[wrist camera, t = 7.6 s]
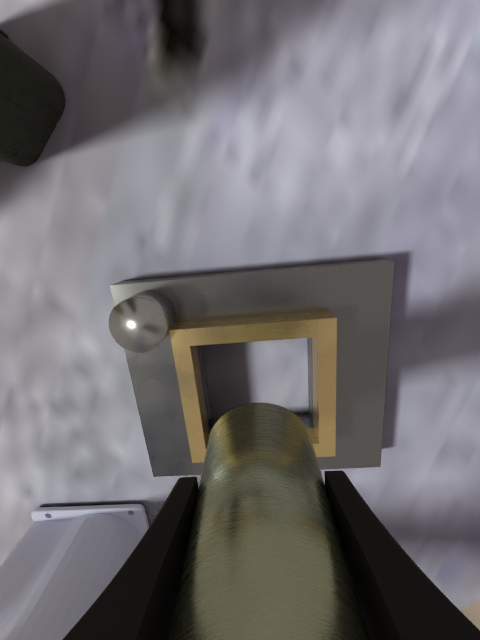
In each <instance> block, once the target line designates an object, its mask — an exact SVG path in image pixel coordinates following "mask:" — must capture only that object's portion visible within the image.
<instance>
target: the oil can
mask: <svg viewBox="0 0 480 640" xmlns="http://www.w3.org/2000/svg"><path fill="white" fill-rule="evenodd" d="M169 640H370V639H369V635H368V632H367V628H366V625H365V621H364V618H363V615H362V611H361V608H360V604H359V601H358V597H357V594H356V591H355V587H354V584H353V580H352V577H351V574H350V570H349V567H348V563H347V560H346V556H345V553H344V550H343V546H342V543H341V539H340V536H339V532H338V529H337V526H336V522H335V519H334V515H333V512H332V508H331V505H330V502H329V498H328V495H327V491H326V488H325V485H324V481H323V478H322V474H321V471H320V467H319V464H318V461H317V457H316V454H315V450H314V447H313V443H312V440H311V437H310V433H309V431H308V429H307V427H306V425H305V424H304V423H303V421H302V420H301V419H300V418H299V417H298V416H297V415H295V414H294V413H293V412H291V411H290V410H288V409H286V408H284V407H281V406H278V405H274V404H270V403H249V404H245V405H241V406H238V407H235V408H234V409H232V410H230V411H228V412H227V413H225V414H224V415H223V416H222V417H220V418H219V420H218V421H217V422H216V423H215V425H214V426H213V428H212V430H211V433H210V436H209V441H208V446H207V451H206V456H205V461H204V466H203V470H202V475H201V480H200V485H199V490H198V495H197V500H196V505H195V510H194V515H193V520H192V525H191V530H190V535H189V540H188V545H187V550H186V555H185V560H184V565H183V570H182V575H181V580H180V585H179V590H178V595H177V600H176V605H175V610H174V615H173V620H172V625H171V630H170V635H169Z"/></svg>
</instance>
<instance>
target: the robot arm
mask: <svg viewBox="0 0 480 640" xmlns="http://www.w3.org/2000/svg"><path fill="white" fill-rule="evenodd" d="M325 488H326V491H327V495H328V498H329V502H330V505H331V508H332V512H333V515H334V519H335V522H336V526H337V529H338V532H339V536H340V539H341V543H342V546H343V550H344V553H345V556H346V560H347V563H348V567H349V570H350V574H351V577H352V580H353V584H354V587H355V591H356V594H357V597H358V601H359V604H360V608H361V611H362V615H363V618H364V621H365V625H366V628H367V632H368V635H369V639H370V640H480V630H479V629H478V628H477V627H476V626H475V625H473V623H472V622H471V621H470V620H468V618H467V617H465V616H464V614H463V613H462V612H461V611H460V610H459V609H458V608H457V607H456V606H455V605H454V604H453V603H452V602H451V601H450V600H449V599H448V598H447V597H446V596H445V595H444V594H443V593H442V592H441V591H440V590H439V589H438V588H437V587H436V586H435V585H434V584H433V582H432V581H431V580H430V579H429V578H428V577H427V576H426V575H425V574H424V573H423V572H422V570H421V569H420V568H419V567H418V566H417V565H416V564H415V563H414V561H413V560H412V559H411V558H410V557H409V556H408V555H407V553H406V552H405V551H404V550H403V549H402V548H401V546H400V545H399V544H398V543H397V542H396V540H395V539H394V538H393V537H392V536H391V534H390V533H389V532H388V531H387V529H386V528H385V527H384V526H383V524H382V523H381V522H380V521H379V519H378V518H377V517H376V516H375V514H374V513H373V512H372V510H371V509H370V508H369V506H368V505H367V504H366V502H365V501H364V500H363V498H362V497H361V496H360V494H359V493H358V491H357V490H356V489H355V487H354V486H353V484H352V483H351V481H350V480H349V478H348V477H347V475H346V474H345V473H344V472H343V471H325ZM198 490H199V489H198V483H197V477H183V478H179V479H178V481H177V482H176V484H175V486H174V488H173V489H172V491H171V493H170V495H169V496H168V498H167V500H166V501H165V503H164V505H163V506H162V508H161V509H160V511H159V513H158V514H157V516H156V517H155V519H154V521H153V522H152V524H151V525H150V527H149V524H148V520H147V516H146V512H145V508H144V506H143V505H141V504H122V505H95V506H68V507H41V508H35V509H34V510H33V512H32V513H31V516H32V519H33V521H34V522H33V523H32V524H31V526H30V527H29V528H28V530H27V531H26V532H25V534H24V535H23V536H22V538H21V539H20V540H19V542H18V543H17V544H16V546H15V547H14V548H13V550H12V551H11V552H10V554H9V555H8V556H7V558H6V559H5V560H4V562H3V563H2V564H1V566H0V640H169V635H170V630H171V625H172V620H173V615H174V610H175V605H176V600H177V595H178V590H179V585H180V580H181V575H182V570H183V565H184V560H185V555H186V550H187V545H188V540H189V535H190V530H191V525H192V520H193V515H194V510H195V505H196V500H197V495H198Z"/></svg>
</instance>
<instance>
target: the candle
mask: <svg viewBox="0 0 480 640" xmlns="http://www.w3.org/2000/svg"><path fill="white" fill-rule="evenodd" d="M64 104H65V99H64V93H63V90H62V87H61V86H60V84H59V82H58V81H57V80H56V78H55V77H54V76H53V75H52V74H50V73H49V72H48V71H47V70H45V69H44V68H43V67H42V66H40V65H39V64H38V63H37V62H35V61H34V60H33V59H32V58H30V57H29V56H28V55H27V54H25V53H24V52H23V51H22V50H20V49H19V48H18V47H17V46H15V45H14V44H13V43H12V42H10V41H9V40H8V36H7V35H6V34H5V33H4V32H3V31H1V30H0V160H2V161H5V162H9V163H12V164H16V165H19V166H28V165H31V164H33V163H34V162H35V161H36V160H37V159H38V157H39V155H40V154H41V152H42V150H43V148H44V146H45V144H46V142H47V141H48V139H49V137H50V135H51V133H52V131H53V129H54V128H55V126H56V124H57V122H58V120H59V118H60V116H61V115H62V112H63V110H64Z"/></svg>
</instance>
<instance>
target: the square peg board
mask: <svg viewBox="0 0 480 640" xmlns="http://www.w3.org/2000/svg"><path fill="white" fill-rule="evenodd" d="M394 264H395V261H393V260H388V259H371V260H359V261H348V262H336V263H325V264H313V265H302V266H290V267H279V268H267V269H256V270H244V271H233V272H221V273H210V274H198V275H187V276H175V277H164V278H152V279H141V280H129V281H121V282H118V283H115V284H112V285H110V288H111V292H112V297H113V301H114V305H115V307H114V308H113V310H112V311H111V314H110V317H109V328H110V332H111V334H112V336H113V338H114V339H115V341H116V342H117V343H118V344H119V345H120V346H122V347H123V348H124V349H125V354H126V358H127V362H128V367H129V371H130V375H131V380H132V384H133V389H134V393H135V397H136V402H137V406H138V410H139V415H140V419H141V424H142V428H143V432H144V437H145V441H146V445H147V450H148V454H149V459H150V463H151V467H152V472H153V476H154V477H157V476H180V475H202V470H203V466H204V461H205V456H206V451H207V446H208V441H209V436H210V433H211V430H212V428H213V426H214V425H215V423H216V422H217V421H218V420H219V419H212V415H211V408H210V401H209V394H208V387H207V380H206V372H205V365H204V358H203V351H202V345H211V344H225V343H239V342H253V341H267V340H281V339H295V338H308V384H309V414H295V415H297V416H298V417H299V418H300V419H301V420H302V421H303V423H304V424H305V425H306V427H307V429H308V431H309V433H310V437H311V440H312V443H313V447H314V450H315V454H316V457H317V461H318V464H319V467H320V469H342V468H365V467H380V465H381V451H382V436H383V422H384V408H385V393H386V379H387V365H388V350H389V336H390V322H391V307H392V293H393V279H394Z"/></svg>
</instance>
